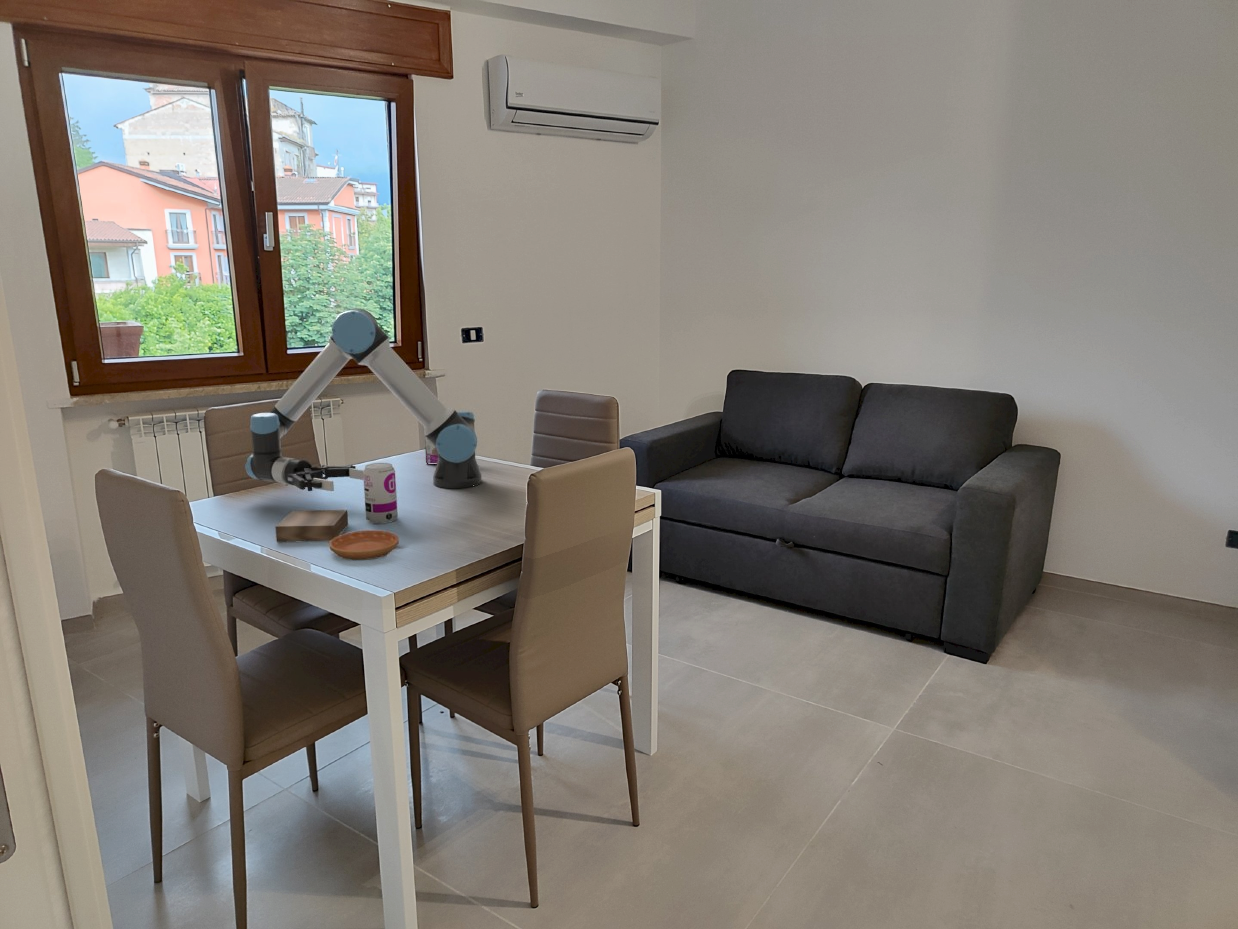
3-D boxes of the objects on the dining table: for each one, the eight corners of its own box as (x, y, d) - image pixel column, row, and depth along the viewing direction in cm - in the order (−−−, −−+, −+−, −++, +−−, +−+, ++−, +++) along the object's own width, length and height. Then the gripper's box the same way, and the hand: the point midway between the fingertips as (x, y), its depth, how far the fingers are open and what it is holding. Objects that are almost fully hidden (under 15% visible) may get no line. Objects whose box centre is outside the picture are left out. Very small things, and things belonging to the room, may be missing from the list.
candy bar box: (425, 465, 287) (423, 418, 283) (430, 461, 291) (428, 416, 288) (456, 465, 286) (454, 419, 282) (460, 462, 290) (459, 417, 287)
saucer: (408, 555, 194) (407, 543, 194) (339, 567, 186) (338, 555, 185) (387, 537, 207) (386, 526, 207) (322, 548, 199) (321, 536, 198)
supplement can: (403, 517, 224) (400, 463, 221) (385, 525, 217) (382, 470, 213) (378, 514, 227) (375, 461, 224) (359, 522, 219) (356, 467, 216)
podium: (348, 524, 217) (347, 509, 216) (334, 540, 204) (333, 525, 203) (293, 525, 216) (292, 510, 215) (276, 541, 202) (275, 526, 202)
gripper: (326, 475, 244) (382, 484, 235) (258, 494, 222) (317, 504, 213) (325, 451, 243) (381, 458, 234) (256, 467, 220) (315, 476, 212)
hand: (351, 480), depth 224 cm, fingers open, 13 cm apart
